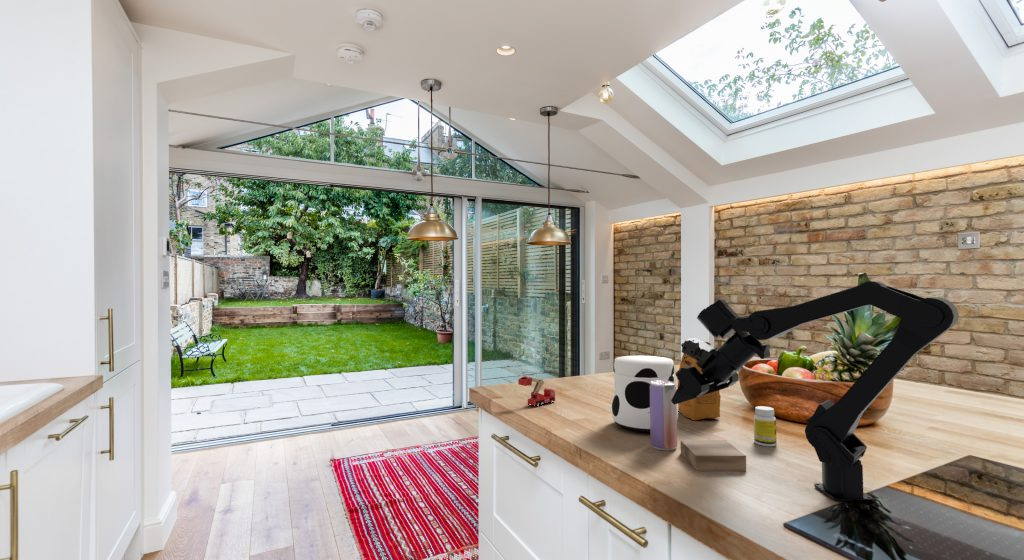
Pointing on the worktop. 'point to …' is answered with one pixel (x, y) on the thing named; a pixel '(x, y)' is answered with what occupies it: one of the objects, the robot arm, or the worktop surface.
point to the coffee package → (699, 398)
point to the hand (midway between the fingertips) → (683, 399)
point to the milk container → (637, 388)
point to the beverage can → (663, 415)
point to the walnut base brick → (713, 455)
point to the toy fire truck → (535, 396)
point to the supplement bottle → (764, 426)
